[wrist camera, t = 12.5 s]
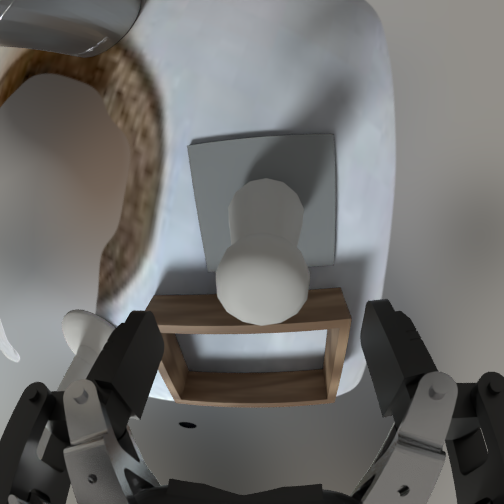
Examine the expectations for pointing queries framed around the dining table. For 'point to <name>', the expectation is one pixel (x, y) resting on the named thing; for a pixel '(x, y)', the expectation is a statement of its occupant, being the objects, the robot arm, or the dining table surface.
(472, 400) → the robot arm
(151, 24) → the dining table surface
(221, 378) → the frame
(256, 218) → the salt shaker
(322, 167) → the grey mat
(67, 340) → the candlestick
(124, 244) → the dining table surface
